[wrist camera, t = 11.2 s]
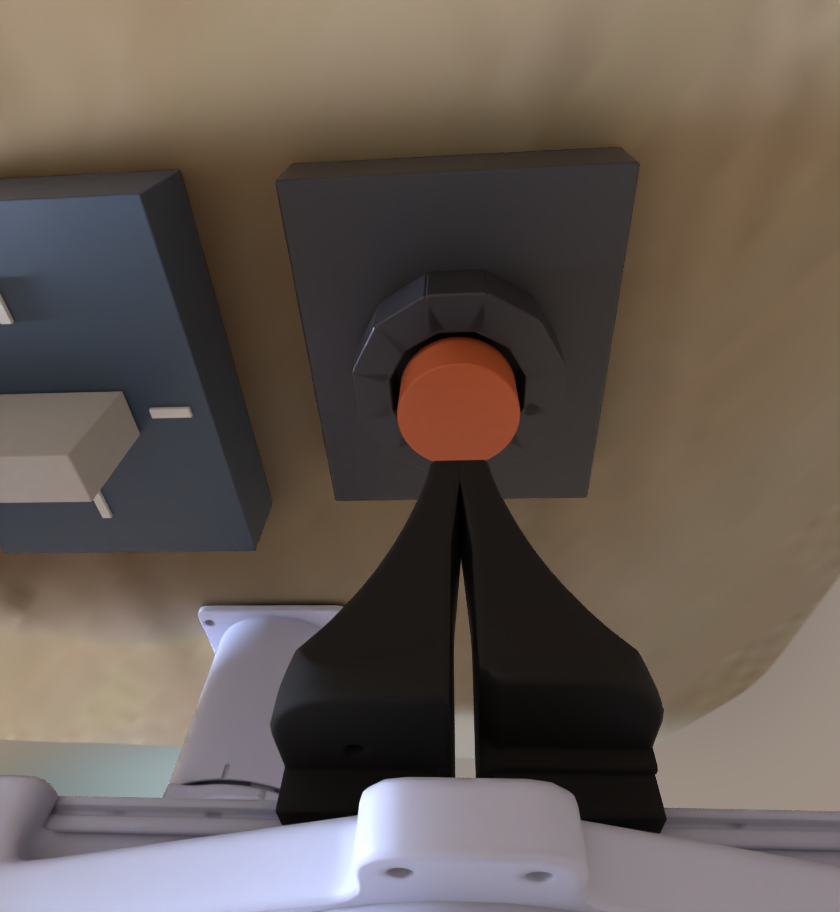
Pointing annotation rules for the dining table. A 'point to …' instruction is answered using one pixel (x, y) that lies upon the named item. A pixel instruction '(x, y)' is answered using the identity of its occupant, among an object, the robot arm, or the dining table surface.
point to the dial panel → (127, 363)
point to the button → (458, 401)
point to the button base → (460, 300)
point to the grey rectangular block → (61, 444)
